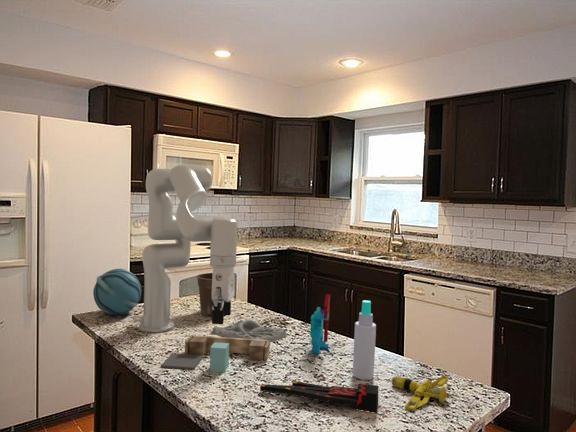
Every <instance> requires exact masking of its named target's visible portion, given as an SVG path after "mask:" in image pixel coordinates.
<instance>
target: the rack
mask: <svg viewBox="0 0 576 432" xmlns="http://www.w3.org/2000/svg"><path fill="white" fill-rule="evenodd" d="M214 342H217V343H229V353H233V354H234V353H235V354H248V360H251V361H252V360H253V361H264V362H268V359H269V356H270V345H271V342H270V340H257V339H242V338H227V337H221V336H209V335H195V334H191V335H190V336H189V337H188V338H187V339H186V340H185V341H184V354H191V355H203V357H204V356H205V355H206V354H207V352H210V350H211V346H212V345H213V343H214Z"/></svg>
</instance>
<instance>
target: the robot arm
mask: <svg viewBox="0 0 576 432" xmlns="http://www.w3.org/2000/svg"><path fill="white" fill-rule="evenodd" d="M212 185H213V175H212V173H211V171H210V170H209V168H208V167H205V166H201V165H190V164H189V165H187V164H179V165H176V166H174V167H173V168H154V169H151V170H150V171H149V172H148V174H147V175H146V178H145V190H146V193H147V198H148V199H147V200H148V219H147V220H148V221H147V234H148V237H149V238H150V239H152V240H154V241H175V242H173V243H171V242H170V243H169V242H167V243H165V242H164V243H163V242H161V243H152V244H148V245H146V246H145V247H144V248H143V250H142V254H141V258H142V264H143V276H144V277H143V278H144V280H143V281H144V282H143V283H144V285H143V287H144V289H143V314H142V315H137V314H135V315H133V316H132V318H133V319H132V320H133V322H134V323H137V322H139V324H138V329H139V330H140V331H141V332H145V333H162V332H163V333H164V332H168V331H170V330H173V328H174V327H175V326H174V325H175V324H174V322H173V321H171V319H170V318H171V285H172V282H171V278H170V277H169V275H168V274H167V272H166V271H165V270H168V269H181V268H184V267H186V266H187V265H189V262H190V259H191V247H192V243H193V242H194V243H197V242H210V253H209V266H210V267H211V268H212V273H213V274H212V301H213V307H212V316H211V324H212V325H223V324H224V320H225V319H224V318H225V317H224V316H231V313H232V312H231V311H232V299H233V298H234V297H235V278H234V276H235V267H237V249H238V248H237V246H238V243H237V242H238V222H237V221H236V219H234V218H226V217H224V216H210V215H209V216H208V215H205V216H204V215H203V216H202V215H201V216H200V215H198V216H197V215H196V216H193V214H191V213H192V212H194V211H196V210H198V209H200V208H201V207H202V206H203V205H205V203H206V201H207V199H208V194H207V192H206V191H209V190H210V189H211V187H212ZM169 193H171V194H176V195H177V197H178V199H179V203H178V206H177V209H176V213H175V214H173V212H174V211H173V210H174V202H173V200H172V198H171V196H170V195H169Z"/></svg>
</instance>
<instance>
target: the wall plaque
mask: <svg viewBox="0 0 576 432" xmlns="http://www.w3.org/2000/svg"><path fill="white" fill-rule="evenodd" d="M211 332H212V333H213V334H214V335H216V336H218V337H227V338H242V339H257V340H270V343H273V342H275V341H278V340H281V339H283V338H287V336H288V335H287V330H286V329H285V328H283V327H277V328H272V327H271V326H262V325H260V324H259V323H258V322H257V321H255V320H252V319H245V320H243V319H239V321H237V322H234V323H231V324H229V325H227V326H225V327H223V326H222V327H221V326H214V327H213V328H212V331H211Z"/></svg>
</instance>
